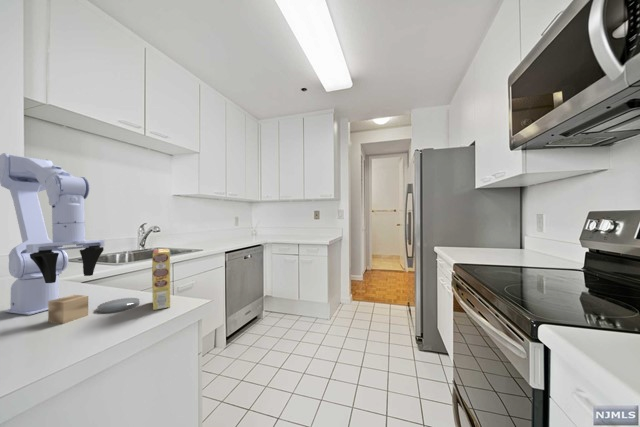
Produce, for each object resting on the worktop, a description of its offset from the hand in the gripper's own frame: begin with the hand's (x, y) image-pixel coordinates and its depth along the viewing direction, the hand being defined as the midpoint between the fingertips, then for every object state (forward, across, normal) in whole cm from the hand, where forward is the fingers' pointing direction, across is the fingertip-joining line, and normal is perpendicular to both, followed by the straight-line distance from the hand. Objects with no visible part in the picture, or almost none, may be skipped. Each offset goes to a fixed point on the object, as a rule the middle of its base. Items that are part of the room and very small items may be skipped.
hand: (70, 279), depth 61 cm
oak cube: (+10, 0, +1) cm, 10 cm away
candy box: (+11, +13, -13) cm, 21 cm away
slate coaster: (+10, +9, -3) cm, 14 cm away
